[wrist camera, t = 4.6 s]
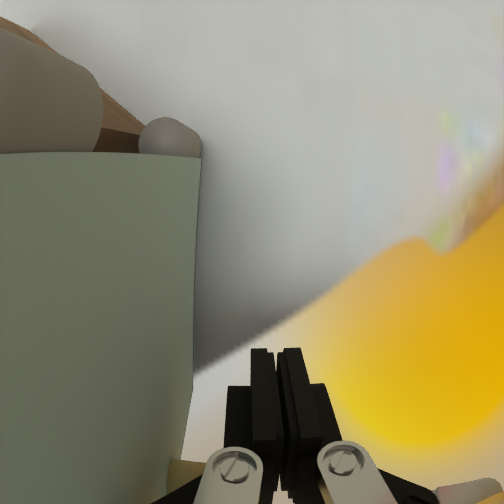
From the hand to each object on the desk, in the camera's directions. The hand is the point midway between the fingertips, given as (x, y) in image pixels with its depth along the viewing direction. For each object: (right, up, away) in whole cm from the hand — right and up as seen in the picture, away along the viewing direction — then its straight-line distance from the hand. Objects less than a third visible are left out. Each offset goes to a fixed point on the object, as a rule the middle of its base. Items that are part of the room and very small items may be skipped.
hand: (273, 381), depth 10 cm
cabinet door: (-4, +3, +4) cm, 6 cm away
